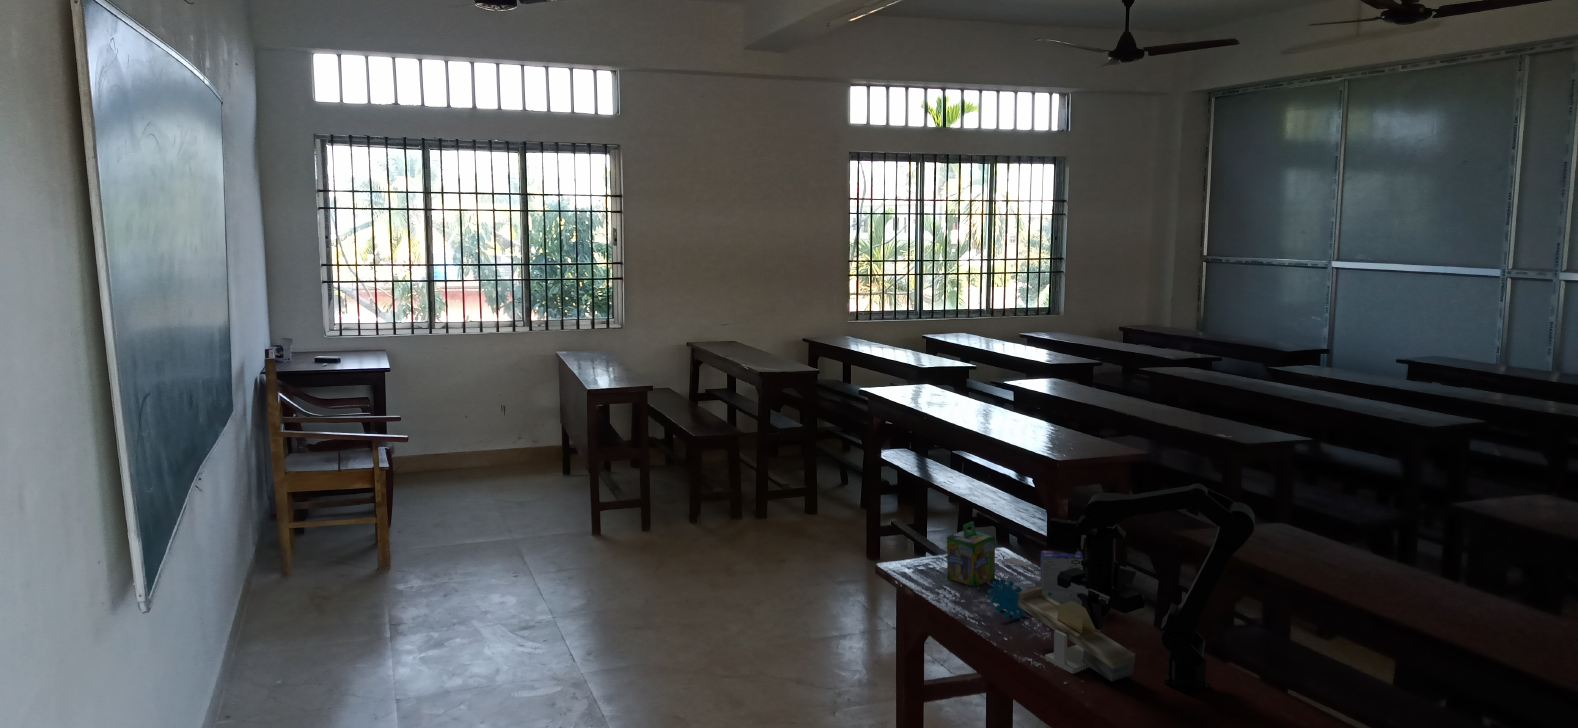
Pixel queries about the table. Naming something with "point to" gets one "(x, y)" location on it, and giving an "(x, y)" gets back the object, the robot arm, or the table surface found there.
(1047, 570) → the ink cartridge box
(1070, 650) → the pivot stand
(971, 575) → the chalk box
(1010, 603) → the gear
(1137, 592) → the robot arm
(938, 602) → the table surface
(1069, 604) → the beige rectangular block
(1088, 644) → the seesaw beam
